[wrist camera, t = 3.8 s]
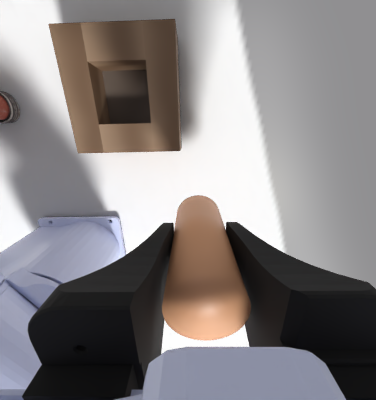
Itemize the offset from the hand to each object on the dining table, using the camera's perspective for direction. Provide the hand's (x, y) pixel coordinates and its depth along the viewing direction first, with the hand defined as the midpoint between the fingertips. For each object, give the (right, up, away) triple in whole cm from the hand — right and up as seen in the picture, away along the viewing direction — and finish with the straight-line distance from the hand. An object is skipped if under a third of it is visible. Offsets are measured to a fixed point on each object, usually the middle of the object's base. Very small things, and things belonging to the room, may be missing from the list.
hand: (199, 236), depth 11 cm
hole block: (-6, +12, +6) cm, 15 cm away
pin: (0, +1, +3) cm, 3 cm away
